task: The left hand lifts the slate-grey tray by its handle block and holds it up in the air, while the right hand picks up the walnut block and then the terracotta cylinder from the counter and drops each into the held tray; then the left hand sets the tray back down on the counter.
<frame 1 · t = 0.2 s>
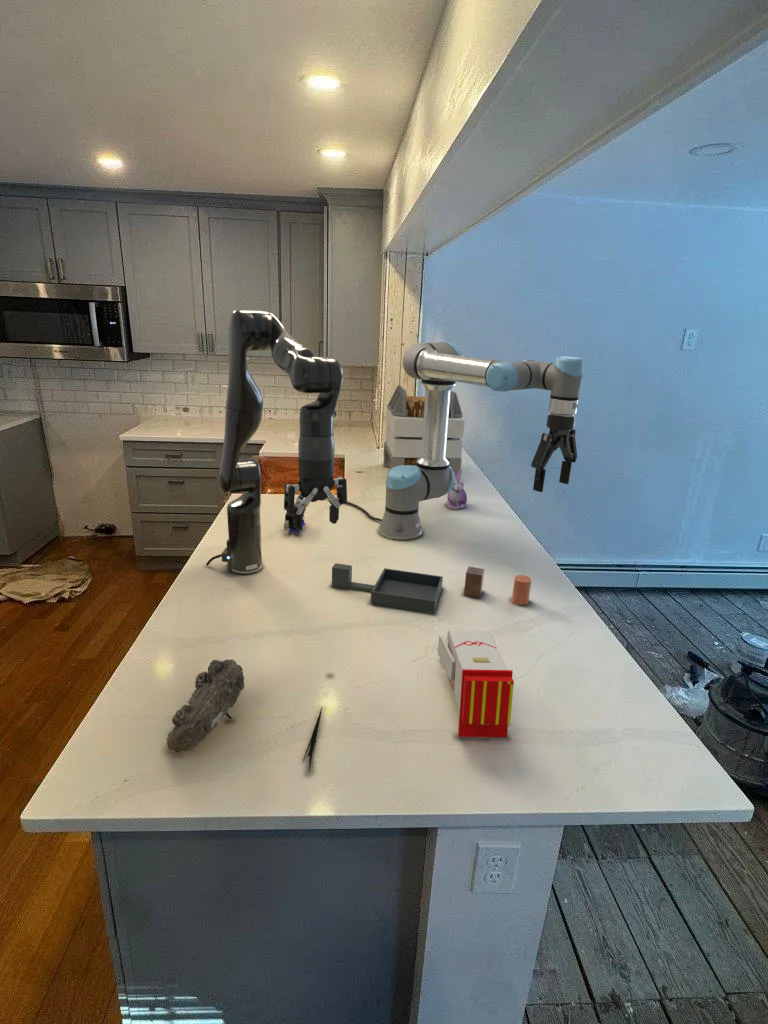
left hand: (316, 525, 125), 29 cm above the counter, fingers open, 8 cm apart
right hand: (551, 487, 165), 28 cm above the counter, fingers open, 13 cm apart
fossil: (212, 717, 108), on the counter
terracotta cylinder: (519, 601, 157), on the counter
tray: (407, 595, 157), on the counter
feather: (319, 719, 109), on the counter
toy: (469, 691, 119), on the counter
white crate: (419, 473, 275), on the counter
figurine: (456, 506, 231), on the counter
walnut block: (472, 593, 160), on the counter
figurine character: (295, 529, 199), on the counter
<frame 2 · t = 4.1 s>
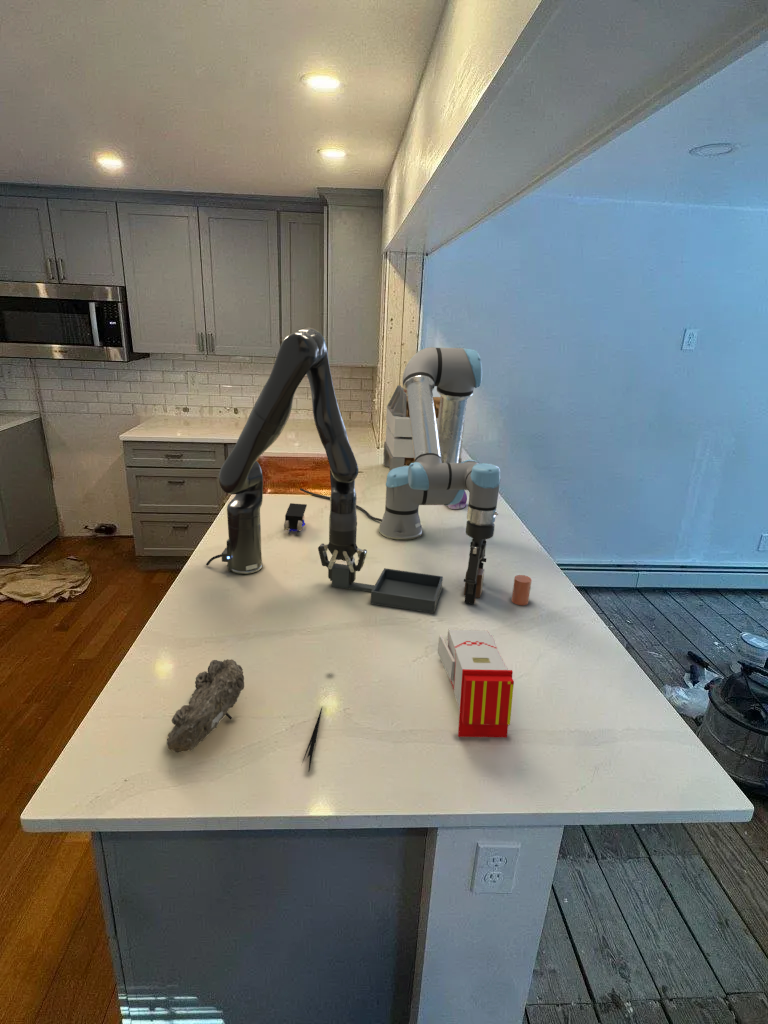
left hand: (341, 580, 161), 1 cm above the counter, fingers closed on tray, 5 cm apart
right hand: (473, 592, 160), 0 cm above the counter, fingers open, 12 cm apart
tray: (407, 595, 157), on the counter, touching left hand
everything else where it was.
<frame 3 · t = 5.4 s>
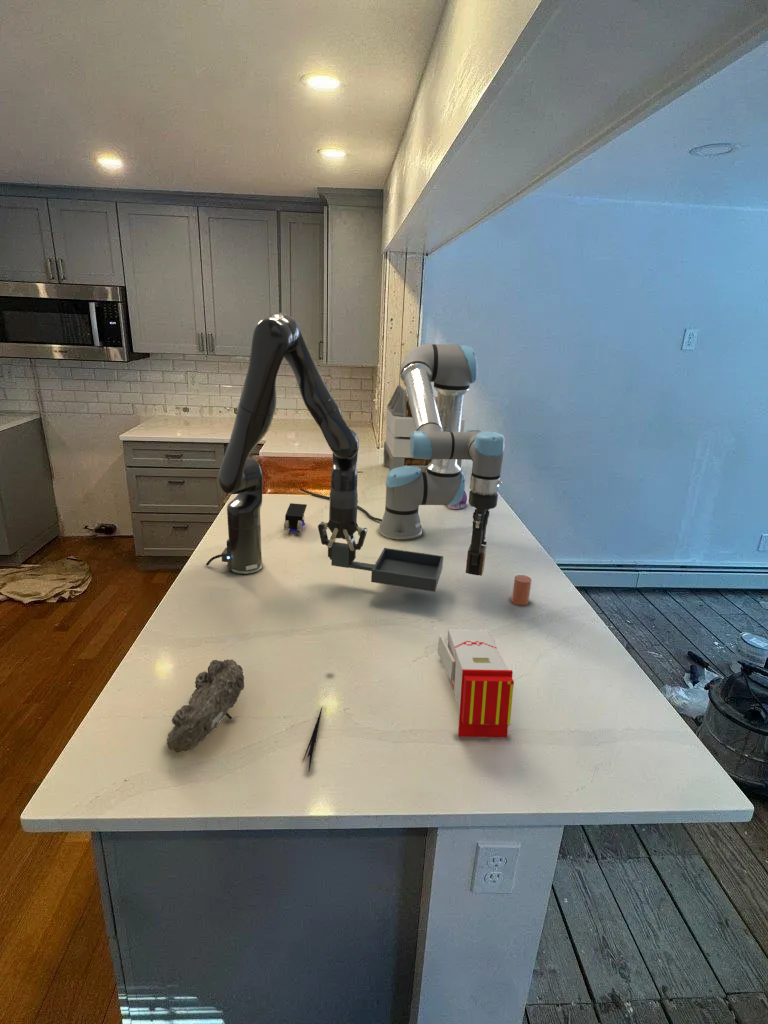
left hand: (341, 559, 159), 8 cm above the counter, fingers closed on tray, 5 cm apart
right hand: (474, 569, 158), 7 cm above the counter, fingers closed on walnut block, 4 cm apart
tray: (407, 574, 156), point 6 cm above the counter, touching left hand
walnut block: (474, 571, 158), point 7 cm above the counter, touching right hand
everything else where it was.
when the right hand's fingers open (17 cm above the counter, at t = 8.3 s): walnut block drops 6 cm, resting on tray.
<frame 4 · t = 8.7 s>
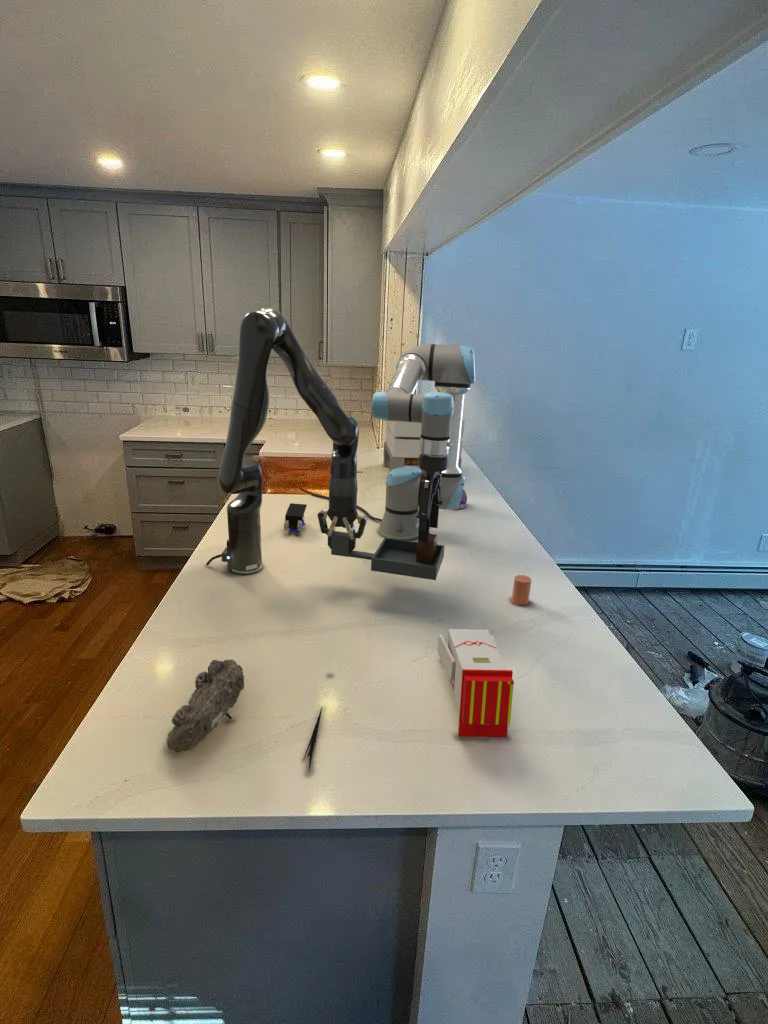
left hand: (341, 548, 157), 11 cm above the counter, fingers closed on tray, 5 cm apart
right hand: (428, 534, 153), 18 cm above the counter, fingers open, 10 cm apart
tray: (408, 563, 154), point 10 cm above the counter, touching left hand, walnut block
walnut block: (425, 559, 156), point 10 cm above the counter, touching tray
everything else where it was.
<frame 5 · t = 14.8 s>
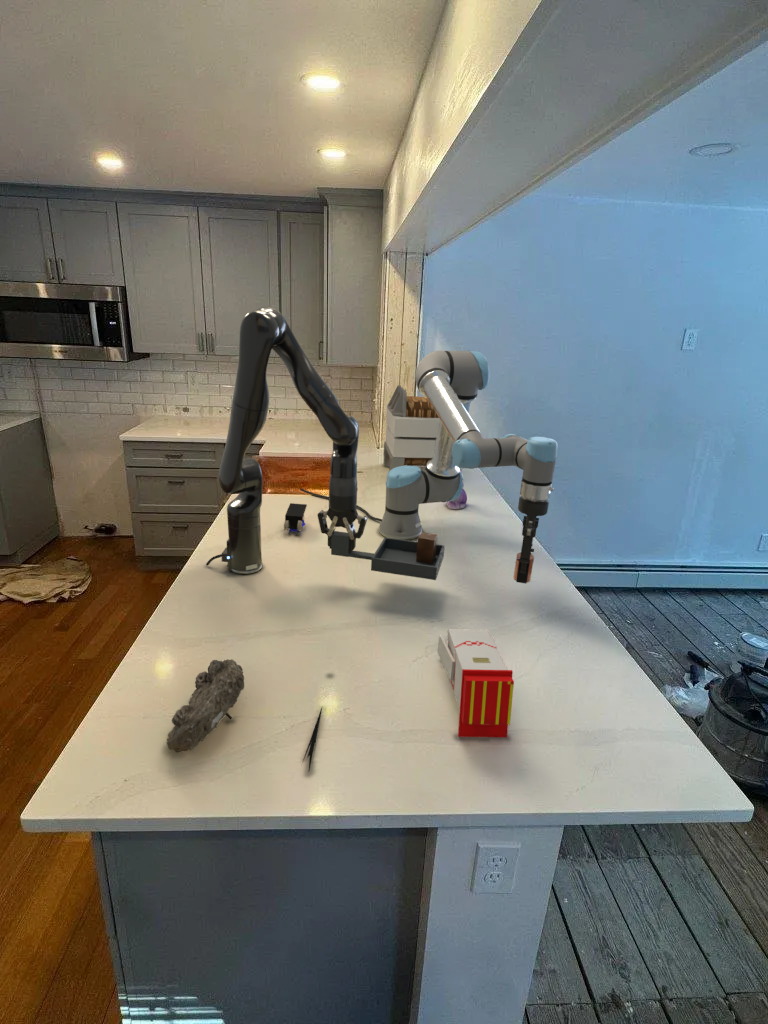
left hand: (341, 548, 157), 11 cm above the counter, fingers closed on tray, 5 cm apart
right hand: (522, 577, 155), 7 cm above the counter, fingers closed on terracotta cylinder, 5 cm apart
terracotta cylinder: (521, 578, 155), point 7 cm above the counter, touching right hand
tray: (408, 563, 154), point 10 cm above the counter, touching left hand, walnut block
everything else where it was.
when the right hand's fingers open (17 cm above the counter, at t = 18.7 s): terracotta cylinder drops 6 cm, resting on tray.
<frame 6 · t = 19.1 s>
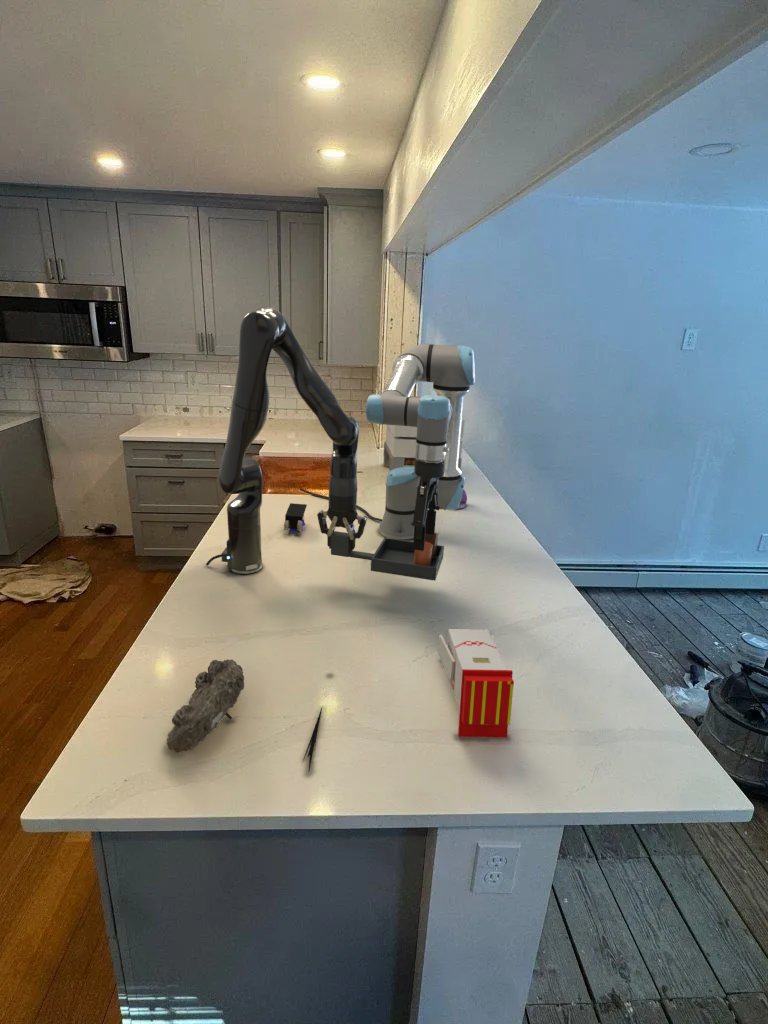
left hand: (341, 548, 157), 11 cm above the counter, fingers closed on tray, 5 cm apart
right hand: (424, 541, 148), 18 cm above the counter, fingers open, 11 cm apart
terracotta cylinder: (421, 568, 150), point 10 cm above the counter, touching tray
tray: (408, 564, 154), point 10 cm above the counter, touching left hand, terracotta cylinder, walnut block
walnut block: (426, 557, 156), point 11 cm above the counter, tilted 20°, touching tray
everything else where it was.
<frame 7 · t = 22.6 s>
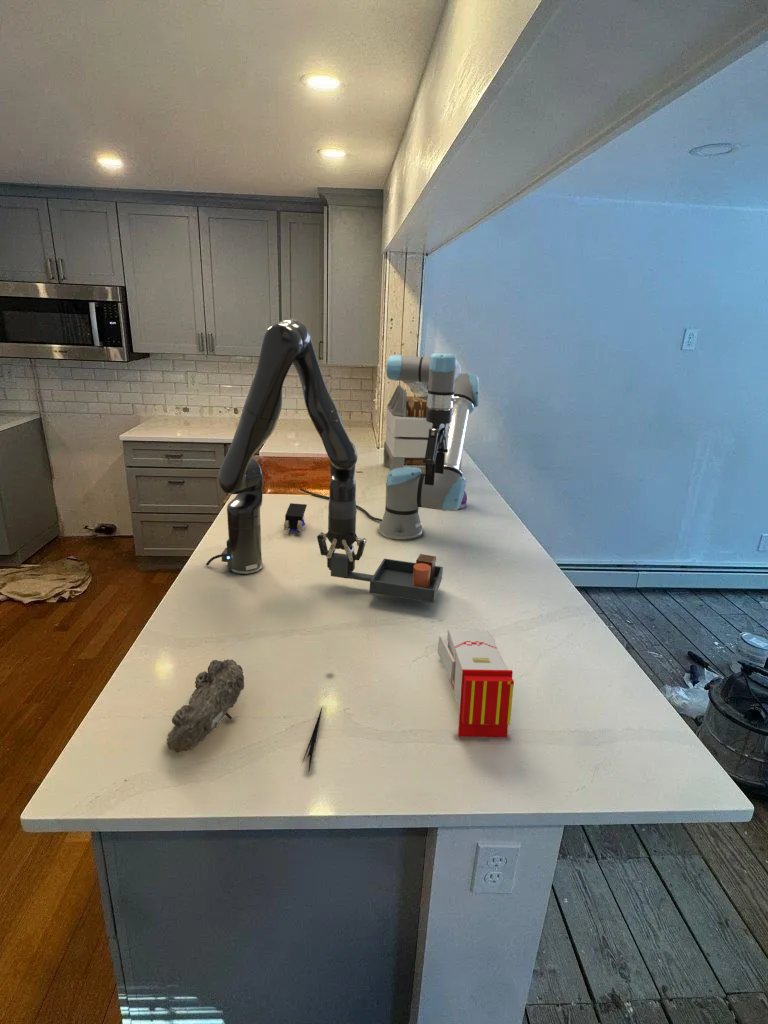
left hand: (341, 570, 159), 5 cm above the counter, fingers closed on tray, 5 cm apart
right hand: (434, 478, 172), 27 cm above the counter, fingers open, 13 cm apart
terracotta cylinder: (420, 590, 152), point 4 cm above the counter, touching tray
tray: (407, 585, 156), point 3 cm above the counter, touching left hand, terracotta cylinder, walnut block
walnut block: (424, 581, 157), point 4 cm above the counter, touching tray
everything else where it was.
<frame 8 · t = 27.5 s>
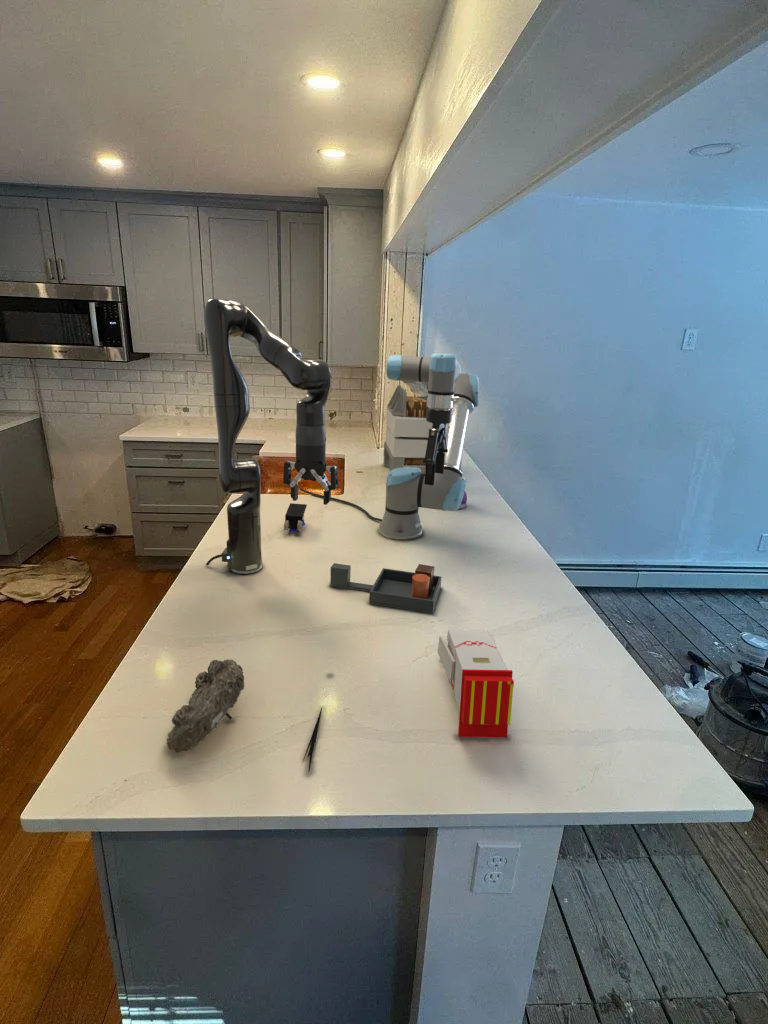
left hand: (310, 501, 149), 26 cm above the counter, fingers open, 8 cm apart
right hand: (434, 478, 172), 27 cm above the counter, fingers open, 13 cm apart
terracotta cylinder: (419, 600, 153), point 1 cm above the counter, touching tray
tray: (406, 595, 157), on the counter, touching terracotta cylinder, walnut block
walnut block: (423, 590, 159), point 1 cm above the counter, touching tray
everything else where it was.
at the end: walnut block inside the target area on the tray (5.2 cm from its centre), point 0.6 cm above the tray's base; terracotta cylinder inside the target area on the tray (5.2 cm from its centre), point 0.6 cm above the tray's base; tray inside the target area (0.4 cm from its centre), on the counter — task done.
